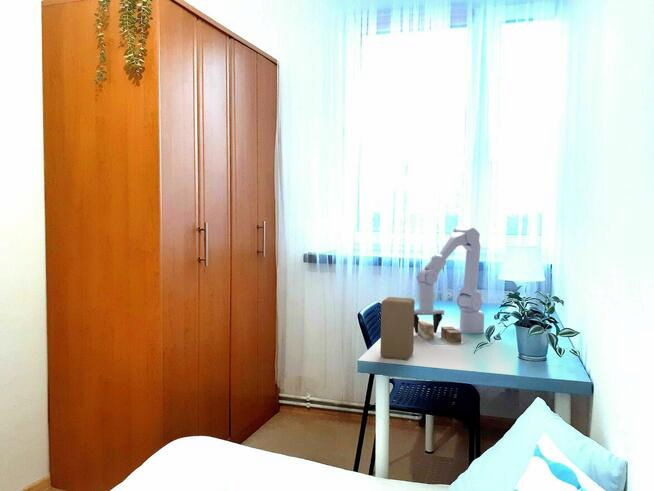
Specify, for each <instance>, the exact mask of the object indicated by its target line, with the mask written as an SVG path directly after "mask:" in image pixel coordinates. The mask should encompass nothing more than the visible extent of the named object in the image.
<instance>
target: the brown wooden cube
mask: <svg viewBox="0 0 654 491" xmlns="http://www.w3.org/2000/svg"><path fill="white" fill-rule="evenodd" d="M440 329H441V330H440V332H441V337H442V338H444V339H446V330H457V329H456V328H455V327H453V326H441V327H440Z"/></svg>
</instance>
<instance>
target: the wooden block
mask: <svg viewBox="0 0 654 491" xmlns="http://www.w3.org/2000/svg"><path fill="white" fill-rule="evenodd" d="M414 310H415V299H414V298H412V297H411V298H409V297H396V296H395V297H394V296H388V297H387V298H385V299H383V300H382V301H381V307H380V311H381V312H380V314H381V315H380V357H381V358H383V359H385V358H386V359H393V360H394V359H395V360H404V361H407V360H409V359H410V358H411V356H412V355H413V353H414V340H415V339H414V335H415V334H414V333H415V329H414Z"/></svg>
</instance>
